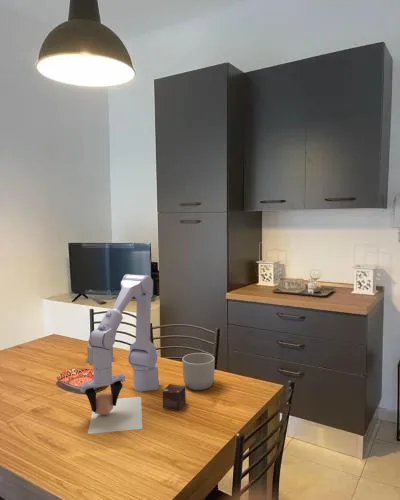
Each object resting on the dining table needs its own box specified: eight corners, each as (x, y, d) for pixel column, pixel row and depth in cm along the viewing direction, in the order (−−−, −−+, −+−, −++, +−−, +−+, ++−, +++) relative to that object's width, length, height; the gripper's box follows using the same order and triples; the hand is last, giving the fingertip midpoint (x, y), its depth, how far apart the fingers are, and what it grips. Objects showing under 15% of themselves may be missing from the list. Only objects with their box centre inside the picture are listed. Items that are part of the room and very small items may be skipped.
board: (141, 399, 143) (140, 387, 142) (142, 432, 121) (142, 417, 121) (94, 403, 140) (94, 390, 140) (87, 437, 119) (87, 422, 118)
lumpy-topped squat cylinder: (92, 366, 176) (92, 346, 175) (84, 357, 187) (83, 339, 186) (115, 361, 182) (115, 342, 181) (105, 353, 192) (105, 335, 192)
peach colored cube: (113, 408, 132) (112, 393, 131) (107, 414, 127) (107, 399, 127) (100, 407, 132) (100, 392, 132) (94, 413, 128) (94, 398, 128)
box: (186, 406, 138) (185, 385, 137) (179, 414, 132) (179, 393, 131) (169, 404, 140) (169, 383, 139) (162, 412, 134) (162, 390, 133)
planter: (178, 390, 150) (177, 362, 149) (188, 378, 162) (187, 351, 161) (210, 394, 147) (210, 365, 146) (218, 381, 159) (217, 354, 158)
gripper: (118, 358, 136) (119, 397, 137) (76, 367, 128) (77, 409, 129) (127, 364, 130) (128, 404, 131) (83, 374, 122) (85, 418, 123)
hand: (103, 407), depth 130 cm, fingers closed on peach colored cube, 6 cm apart
